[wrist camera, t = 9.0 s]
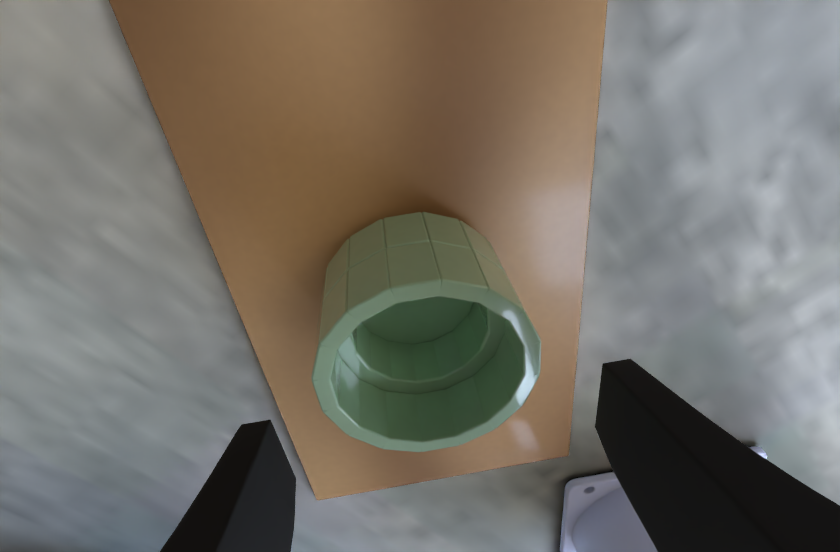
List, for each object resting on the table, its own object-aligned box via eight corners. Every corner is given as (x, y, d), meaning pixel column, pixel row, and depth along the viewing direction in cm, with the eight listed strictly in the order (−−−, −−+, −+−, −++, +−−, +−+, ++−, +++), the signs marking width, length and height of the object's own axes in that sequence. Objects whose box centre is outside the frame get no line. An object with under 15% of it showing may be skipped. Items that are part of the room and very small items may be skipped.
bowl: (496, 190, 13) (544, 262, 10) (501, 338, 16) (539, 432, 13) (303, 221, 13) (284, 304, 10) (344, 365, 16) (340, 467, 13)
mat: (613, -159, 10) (622, -164, 9) (565, 448, 21) (569, 456, 20) (80, -86, 9) (70, -89, 9) (317, 492, 20) (316, 501, 20)
